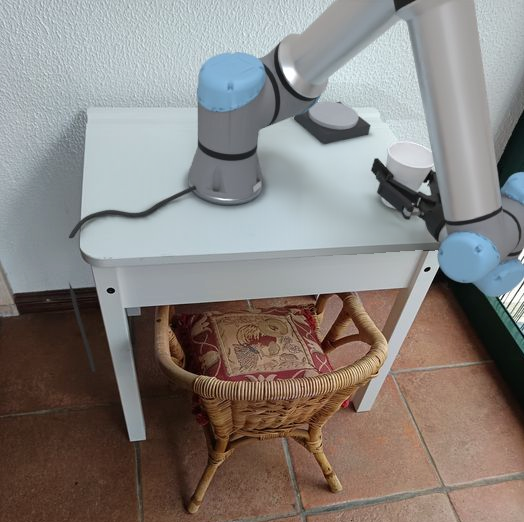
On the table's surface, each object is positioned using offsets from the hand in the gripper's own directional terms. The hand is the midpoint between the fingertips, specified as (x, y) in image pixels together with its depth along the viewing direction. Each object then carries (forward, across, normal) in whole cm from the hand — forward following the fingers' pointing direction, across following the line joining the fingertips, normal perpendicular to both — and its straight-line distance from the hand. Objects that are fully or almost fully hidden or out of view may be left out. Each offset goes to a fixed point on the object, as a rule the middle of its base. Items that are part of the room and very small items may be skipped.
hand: (393, 162), depth 102 cm
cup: (-5, 0, -7) cm, 8 cm away
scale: (+28, 0, -6) cm, 29 cm away
